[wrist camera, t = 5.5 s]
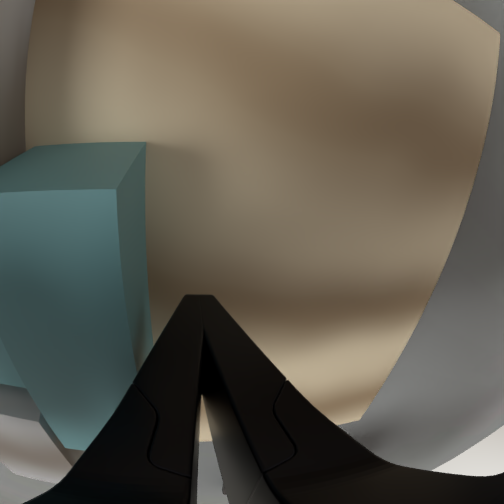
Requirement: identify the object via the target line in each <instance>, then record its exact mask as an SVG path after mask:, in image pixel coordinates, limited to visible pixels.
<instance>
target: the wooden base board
mask: <svg viewBox="0 0 504 504" xmlns="http://www.w3.org/2000/svg"><path fill="white" fill-rule="evenodd" d="M499 45H500V33H499V32H497V31H496V30H495V29H493V28H492V27H491V26H490V25H488V24H487V23H485V22H484V21H483V20H481V19H480V18H479V17H477V16H476V15H474V14H473V13H471V12H470V11H468V10H467V9H465V8H464V7H462V6H461V5H459V4H458V3H456V2H455V1H453V0H0V166H2V165H4V164H5V163H7V162H8V161H10V160H12V159H13V158H15V157H17V156H19V155H20V154H22V153H24V152H26V151H27V150H29V149H31V148H33V147H35V146H44V145H58V144H74V143H97V142H146V163H145V226H146V256H147V275H148V290H149V304H150V316H151V326H152V336H153V346H154V344H155V343H156V341H157V339H158V338H159V336H160V334H161V333H162V331H163V329H164V328H165V326H166V324H167V323H168V321H169V319H170V318H171V316H172V314H173V313H174V311H175V309H176V308H177V306H178V304H179V303H180V301H181V300H182V298H183V296H184V295H186V294H211V295H214V296H215V297H216V299H217V300H218V301H219V302H220V303H221V305H222V306H223V307H224V308H225V309H226V310H227V312H228V313H229V314H230V315H231V316H232V317H233V319H234V320H235V321H236V322H237V323H238V324H239V325H240V327H241V328H242V329H243V330H244V331H245V332H246V334H247V335H248V336H249V337H250V338H251V339H252V340H253V341H254V343H255V344H256V345H257V346H258V347H259V348H260V349H261V350H262V352H263V353H264V354H265V355H266V356H267V357H268V358H269V359H270V361H271V362H272V363H273V364H274V365H275V366H276V367H277V368H278V369H279V370H280V372H281V373H282V374H283V375H284V376H285V377H286V380H289V381H290V382H291V383H292V384H293V386H294V387H295V388H296V389H297V390H298V391H299V392H300V393H301V394H302V395H303V396H304V397H305V398H306V399H307V400H308V401H309V402H310V403H311V404H312V405H313V406H314V407H316V408H317V409H318V410H319V411H320V412H321V413H322V414H324V415H325V416H326V417H327V418H328V419H329V420H331V421H332V422H333V423H334V424H336V425H340V424H344V423H349V422H353V421H358V420H360V418H361V417H362V415H363V414H364V413H365V411H366V410H367V408H368V407H369V405H370V404H371V402H372V401H373V399H374V398H375V396H376V394H377V393H378V391H379V390H380V388H381V387H382V385H383V383H384V382H385V380H386V379H387V377H388V375H389V374H390V372H391V370H392V369H393V367H394V365H395V363H396V362H397V360H398V358H399V357H400V355H401V353H402V351H403V349H404V348H405V346H406V344H407V342H408V340H409V338H410V337H411V335H412V333H413V331H414V329H415V327H416V325H417V323H418V321H419V319H420V317H421V315H422V313H423V311H424V309H425V307H426V305H427V303H428V301H429V299H430V297H431V295H432V292H433V290H434V288H435V286H436V284H437V281H438V279H439V277H440V275H441V272H442V270H443V268H444V265H445V263H446V260H447V258H448V255H449V253H450V250H451V248H452V245H453V243H454V240H455V237H456V235H457V232H458V229H459V227H460V224H461V221H462V218H463V215H464V212H465V209H466V206H467V203H468V200H469V197H470V194H471V190H472V187H473V184H474V180H475V177H476V173H477V170H478V166H479V162H480V158H481V154H482V150H483V146H484V142H485V138H486V133H487V128H488V124H489V119H490V113H491V108H492V102H493V96H494V90H495V83H496V75H497V67H498V57H499ZM203 441H212V436H211V432H210V428H209V424H208V419H207V415H206V410H205V406H204V401H203V397H202V399H201V416H200V434H199V442H203ZM83 453H84V450H76V449H69V448H65V447H64V446H63V444H62V443H61V441H60V440H59V439H58V437H57V436H56V434H55V433H54V431H53V430H52V429H51V427H50V426H49V424H48V423H47V421H46V420H45V418H44V417H43V415H42V413H41V412H40V410H39V409H38V407H37V405H36V404H35V402H34V401H33V399H32V397H31V396H30V394H29V392H28V390H27V389H26V388H22V387H16V386H11V385H5V384H0V461H1V462H2V463H3V464H4V465H5V466H6V467H7V468H8V469H9V470H11V471H12V472H13V473H14V474H17V475H21V476H25V477H29V478H33V479H37V480H41V481H46V482H50V483H55V484H57V483H59V482H60V481H61V480H62V479H63V478H64V477H65V476H66V474H67V473H68V472H69V471H70V469H71V468H72V467H73V466H74V464H75V463H76V462H77V460H78V459H79V458H80V457H81V455H82V454H83Z"/></svg>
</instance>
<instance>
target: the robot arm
mask: <svg viewBox="0 0 504 504" xmlns="http://www.w3.org/2000/svg"><path fill="white" fill-rule="evenodd" d="M132 383H133V384H131V385H130V387H129V388H128V390H127V392H126V393H125V395H124V397H123V399H122V400H121V402H120V403H119V405H118V406H117V408H116V410H115V411H114V413H113V414H112V416H111V417H110V418H109V420H108V421H107V423H106V424H105V425H104V427H103V428H102V429H101V431H100V432H99V433H98V435H97V436H96V437H95V438H94V440H93V441H92V442H91V444H90V445H89V446H88V447H87V449H86V450H85V451H84V453H83V454H82V455H81V457H80V458H79V459H78V460H77V462H76V463H75V464H74V466H73V467H72V468H71V469H70V471H69V472H68V473H67V474H66V476H65V477H64V478H63V479H62V480H61V481H60V482H59V483H57V484H56V485H55V486H54V487H53V488H51V489H50V490H48V491H46V492H45V493H43V494H41V495H39V496H37V497H35V498H33V499H31V500H29V501H27V502H25V503H23V504H197V479H198V454H199V434H200V416H201V399H202V397H203V401H204V406H205V410H206V415H207V419H208V424H209V428H210V432H211V436H212V441H213V445H214V449H215V453H216V457H217V461H218V464H219V468H220V472H221V476H222V479H223V487H222V492H223V494H225V495H227V497H228V501H229V504H504V472H503V473H501V474H498V475H494V476H486V477H484V476H466V475H457V474H449V473H441V472H433V471H427V470H421V469H415V468H410V467H404V466H400V465H396V464H393V463H390V462H388V461H386V460H384V459H382V458H380V457H378V456H376V455H375V454H373V453H372V452H371V451H369V450H368V449H366V448H365V447H364V446H363V445H361V444H360V443H359V442H357V441H356V440H355V439H353V438H352V437H351V436H350V435H348V434H347V433H346V432H344V431H343V430H342V429H341V428H339V427H338V426H337V425H336V424H334V423H333V422H332V421H331V420H329V419H328V418H327V417H326V416H325V415H324V414H322V413H321V412H320V411H319V410H318V409H317V408H316V407H314V406H313V405H312V404H311V403H310V402H309V401H308V400H307V399H306V398H305V397H304V396H303V395H302V394H301V393H300V392H299V391H298V390H297V389H296V388H295V387H294V386H293V384H292V383H291V382H290V381H289V380H286V377H285V376H284V375H283V374H282V373H281V372H280V370H279V369H278V368H277V367H276V366H275V365H274V364H273V363H272V362H271V361H270V359H269V358H268V357H267V356H266V355H265V354H264V353H263V352H262V350H261V349H260V348H259V347H258V346H257V345H256V344H255V343H254V341H253V340H252V339H251V338H250V337H249V336H248V335H247V334H246V332H245V331H244V330H243V329H242V328H241V327H240V325H239V324H238V323H237V322H236V321H235V320H234V319H233V317H232V316H231V315H230V314H229V313H228V312H227V310H226V309H225V308H224V307H223V306H222V305H221V303H220V302H219V301H218V300H217V299H216V297H215V296H214V295H211V294H186V295H184V296H183V298H182V300H181V301H180V303H179V304H178V306H177V308H176V309H175V311H174V313H173V314H172V316H171V318H170V319H169V321H168V323H167V324H166V326H165V328H164V329H163V331H162V333H161V334H160V336H159V338H158V339H157V341H156V343H155V344H154V346H153V348H152V349H151V351H150V353H149V354H148V356H147V358H146V359H145V361H144V363H143V365H142V366H141V368H140V370H139V371H138V373H137V375H136V376H135V378H134V380H133V382H132Z"/></svg>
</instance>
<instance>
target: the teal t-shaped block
mask: <svg viewBox="0 0 504 504" xmlns="http://www.w3.org/2000/svg"><path fill="white" fill-rule="evenodd" d="M145 163H146V142H97V143H74V144H58V145H44V146H35V147H33V148H31V149H29V150H27V151H26V152H24V153H22V154H20V155H19V156H17V157H15V158H13V159H12V160H10V161H8V162H7V163H5V164H4V165H2V166H0V384H5V385H11V386H16V387H22V388H26V389H27V390H28V392H29V394H30V396H31V397H32V399H33V401H34V402H35V404H36V405H37V407H38V409H39V410H40V412H41V413H42V415H43V417H44V418H45V420H46V421H47V423H48V424H49V426H50V427H51V429H52V430H53V431H54V433H55V434H56V436H57V437H58V439H59V440H60V441H61V443H62V444H63V446H64V447H65V448H69V449H76V450H84V451H85V450H86V449H87V447H88V446H89V445H90V444H91V442H92V441H93V440H94V438H95V437H96V436H97V435H98V433H99V432H100V431H101V429H102V428H103V427H104V425H105V424H106V423H107V421H108V420H109V418H110V417H111V416H112V414H113V413H114V411H115V410H116V408H117V406H118V405H119V403H120V402H121V400H122V399H123V397H124V395H125V393H126V392H127V390H128V388H129V387H130V385H131V384H133V383H132V382H133V380H134V378H135V376H136V375H137V373H138V371H139V370H140V368H141V366H142V365H143V363H144V361H145V359H146V358H147V356H148V354H149V353H150V351H151V349H152V348H153V336H152V326H151V316H150V304H149V290H148V275H147V256H146V226H145Z"/></svg>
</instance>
